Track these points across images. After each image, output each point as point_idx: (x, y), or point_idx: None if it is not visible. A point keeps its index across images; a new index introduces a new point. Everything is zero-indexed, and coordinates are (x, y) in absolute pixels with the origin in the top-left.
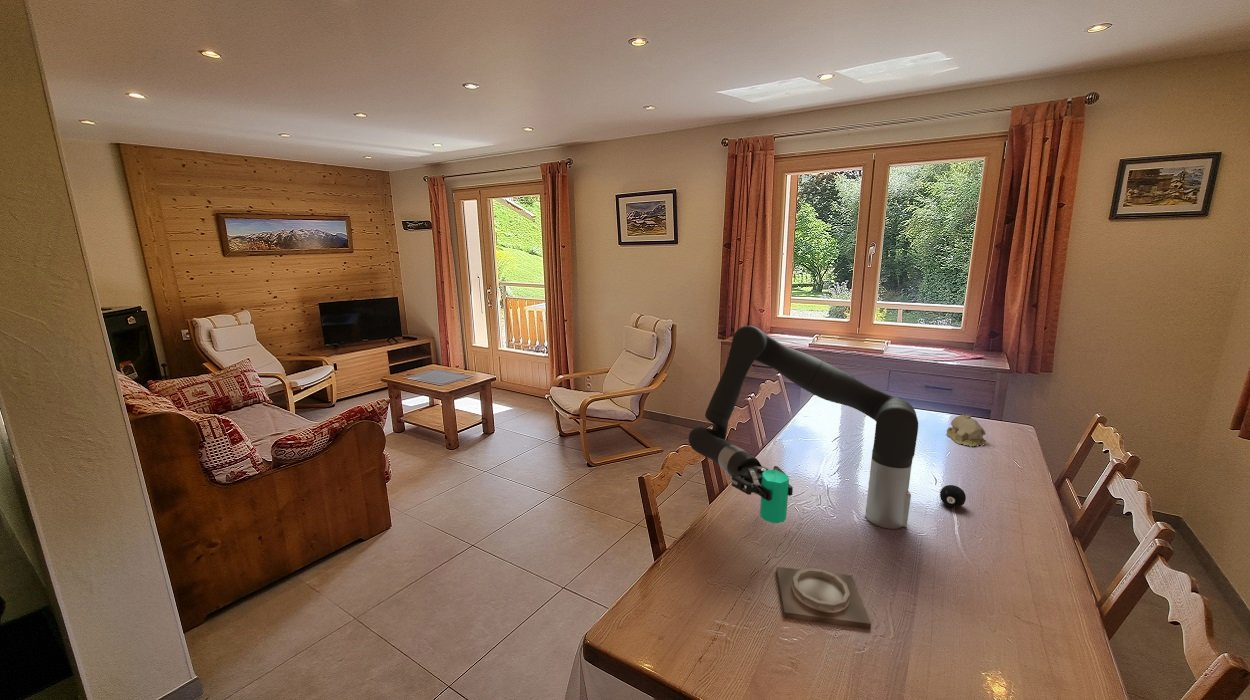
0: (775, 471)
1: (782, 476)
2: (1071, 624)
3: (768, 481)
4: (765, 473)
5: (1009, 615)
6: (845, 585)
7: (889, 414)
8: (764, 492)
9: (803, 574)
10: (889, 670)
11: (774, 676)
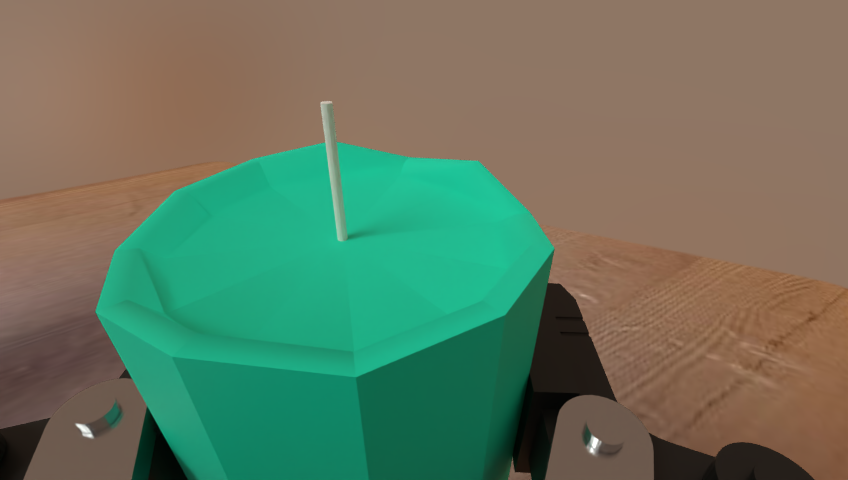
0: (156, 311)
1: (223, 230)
2: (96, 192)
3: (518, 206)
4: (415, 333)
5: (137, 217)
6: None
7: None
8: (561, 302)
9: None
10: None
11: (642, 257)
